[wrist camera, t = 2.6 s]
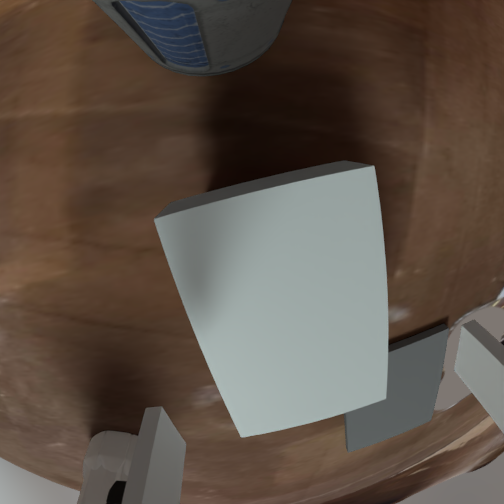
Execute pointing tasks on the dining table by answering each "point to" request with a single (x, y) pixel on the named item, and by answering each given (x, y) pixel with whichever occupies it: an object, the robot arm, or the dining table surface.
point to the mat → (402, 391)
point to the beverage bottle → (200, 31)
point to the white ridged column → (106, 464)
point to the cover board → (286, 292)
